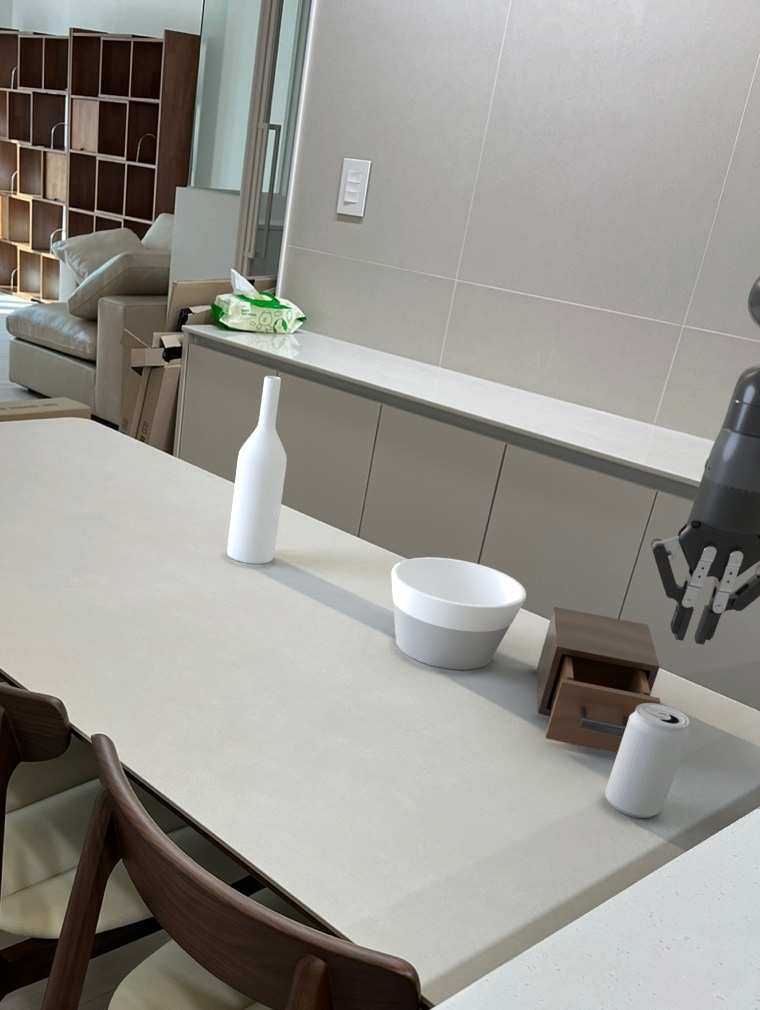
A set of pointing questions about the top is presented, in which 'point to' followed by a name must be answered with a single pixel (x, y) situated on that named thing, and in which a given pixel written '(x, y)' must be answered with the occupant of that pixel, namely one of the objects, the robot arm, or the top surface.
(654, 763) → the beverage can
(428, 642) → the bowl
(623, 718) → the drawer
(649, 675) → the cabinet
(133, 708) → the top surface
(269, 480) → the bottle
